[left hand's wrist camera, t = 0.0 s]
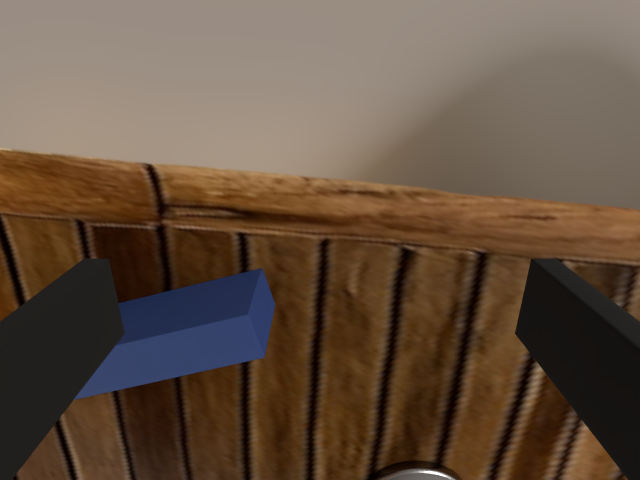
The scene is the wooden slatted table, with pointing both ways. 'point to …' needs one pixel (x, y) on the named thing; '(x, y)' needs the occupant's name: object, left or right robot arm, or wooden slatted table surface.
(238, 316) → the bar
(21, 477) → the wooden slatted table surface
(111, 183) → the wooden slatted table surface
